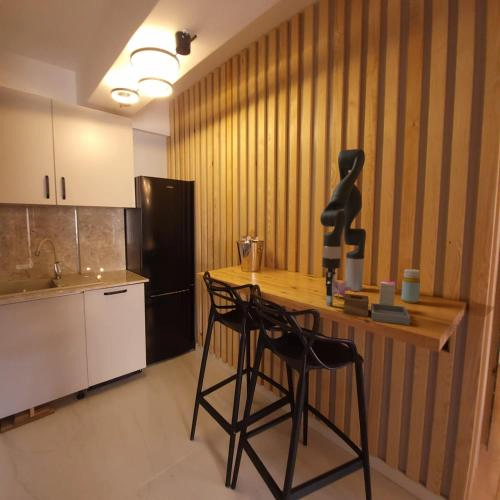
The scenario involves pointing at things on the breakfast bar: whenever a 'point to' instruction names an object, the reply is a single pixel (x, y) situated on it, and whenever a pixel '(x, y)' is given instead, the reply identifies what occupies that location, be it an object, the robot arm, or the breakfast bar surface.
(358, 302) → the bore block
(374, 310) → the tray
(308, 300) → the breakfast bar surface
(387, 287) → the supplement box
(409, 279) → the bottle
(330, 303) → the pin gauge
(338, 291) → the lily
